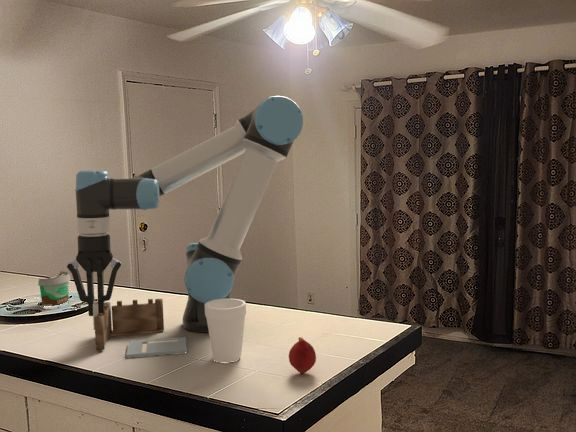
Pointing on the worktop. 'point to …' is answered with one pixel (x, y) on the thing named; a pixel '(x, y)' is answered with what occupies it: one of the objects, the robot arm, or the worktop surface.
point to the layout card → (156, 347)
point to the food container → (54, 289)
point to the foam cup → (226, 328)
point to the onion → (302, 356)
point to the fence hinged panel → (102, 328)
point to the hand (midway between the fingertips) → (96, 328)
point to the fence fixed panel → (136, 318)
